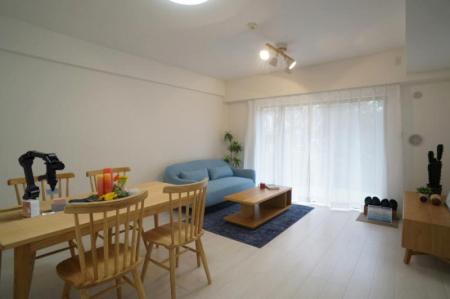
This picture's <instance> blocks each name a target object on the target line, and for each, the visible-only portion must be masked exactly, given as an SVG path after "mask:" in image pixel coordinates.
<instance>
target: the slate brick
mask: <svg viewBox="0 0 450 299" xmlns="http://www.w3.org/2000/svg"><path fill="white" fill-rule="evenodd" d="M45 192H46V193H45V194H46V195H47V196H51V195H56V194H59V193H60V191H59V187H57V186H56V187H55V189H54V191H53V192H52V191H51V188H50V187H47V188H46V189H45Z"/></svg>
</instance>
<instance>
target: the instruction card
mask: <svg viewBox="0 0 450 299" xmlns="http://www.w3.org/2000/svg"><path fill="white" fill-rule="evenodd" d="M51 214H55V212H52V211H48V212H42V213H41V216H47V215H51Z"/></svg>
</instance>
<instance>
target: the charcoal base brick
mask: <svg viewBox="0 0 450 299" xmlns="http://www.w3.org/2000/svg"><path fill="white" fill-rule="evenodd" d="M68 204H69V202H68V201H66V204H63V205H56V206H54V205H53V203H51V204H50V210H51V211H50V212H61V211H65V210H64V207H65V206H66V205H68Z"/></svg>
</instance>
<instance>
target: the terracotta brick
mask: <svg viewBox="0 0 450 299" xmlns="http://www.w3.org/2000/svg"><path fill="white" fill-rule="evenodd" d="M52 202H53V203H52V204H53V205H54V206H56V205H63V204H66V202H67V201H66V197H58V198H53V200H52Z"/></svg>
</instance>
